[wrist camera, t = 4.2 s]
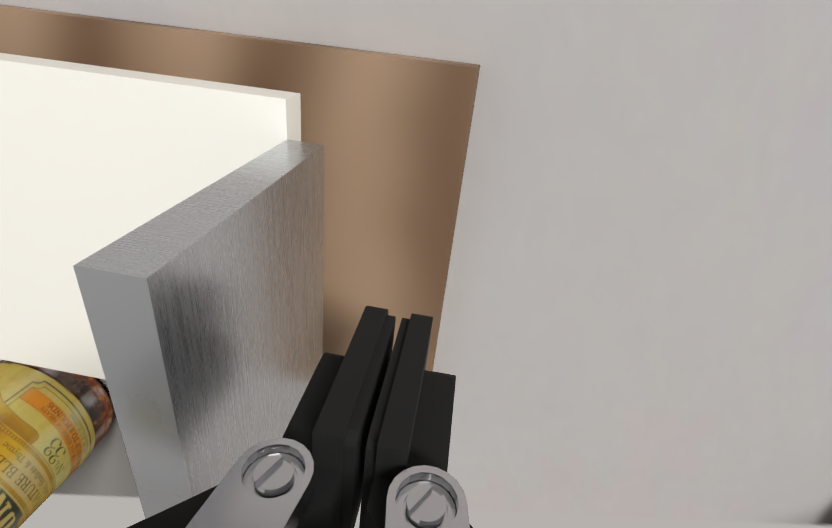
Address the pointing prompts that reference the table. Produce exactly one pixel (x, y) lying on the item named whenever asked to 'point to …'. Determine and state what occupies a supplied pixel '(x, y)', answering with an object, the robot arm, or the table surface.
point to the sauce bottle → (44, 433)
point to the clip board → (322, 124)
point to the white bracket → (163, 256)
